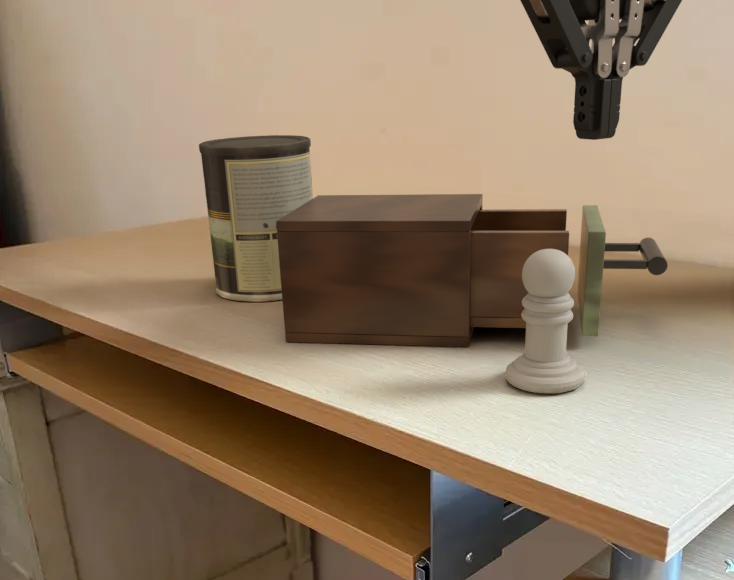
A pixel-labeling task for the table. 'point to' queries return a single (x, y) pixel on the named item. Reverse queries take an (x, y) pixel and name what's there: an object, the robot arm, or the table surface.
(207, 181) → the coffee can
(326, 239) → the cabinet
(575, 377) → the chess piece
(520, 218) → the drawer
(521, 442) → the table surface
